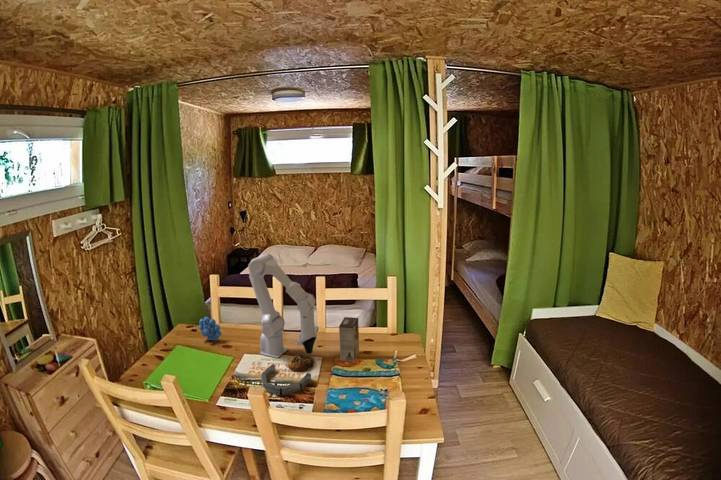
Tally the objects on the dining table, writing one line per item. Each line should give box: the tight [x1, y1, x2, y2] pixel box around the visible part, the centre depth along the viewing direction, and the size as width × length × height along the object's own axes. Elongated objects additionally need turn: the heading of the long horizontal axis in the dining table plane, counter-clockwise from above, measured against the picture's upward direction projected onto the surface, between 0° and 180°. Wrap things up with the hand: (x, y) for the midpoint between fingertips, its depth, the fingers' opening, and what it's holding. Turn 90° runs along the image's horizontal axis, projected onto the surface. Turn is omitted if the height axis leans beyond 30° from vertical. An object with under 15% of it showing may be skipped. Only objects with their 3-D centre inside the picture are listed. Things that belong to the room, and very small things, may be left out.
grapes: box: [198, 316, 223, 342], centre depth 163 cm, size 12×7×12 cm, turn 77°
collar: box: [260, 364, 312, 396], centre depth 131 cm, size 18×12×2 cm
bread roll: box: [286, 353, 315, 372], centre depth 144 cm, size 11×11×5 cm
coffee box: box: [338, 316, 360, 363], centre depth 148 cm, size 9×6×16 cm
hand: (309, 352), depth 149 cm, fingers closed
